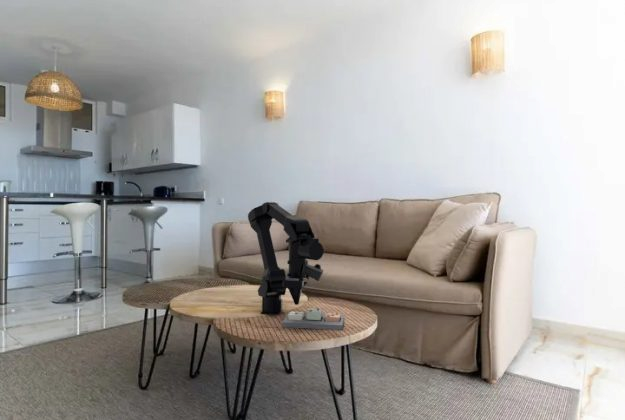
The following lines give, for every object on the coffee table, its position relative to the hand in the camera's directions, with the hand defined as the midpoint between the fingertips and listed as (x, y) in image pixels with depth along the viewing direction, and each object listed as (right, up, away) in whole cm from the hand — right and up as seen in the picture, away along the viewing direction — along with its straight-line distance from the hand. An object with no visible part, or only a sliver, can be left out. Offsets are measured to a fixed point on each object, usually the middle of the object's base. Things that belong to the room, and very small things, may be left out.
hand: (296, 304), depth 131 cm
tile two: (+6, -4, -1) cm, 7 cm away
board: (+6, -6, -1) cm, 8 cm away
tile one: (0, -6, 0) cm, 6 cm away
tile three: (+12, -6, -1) cm, 13 cm away
